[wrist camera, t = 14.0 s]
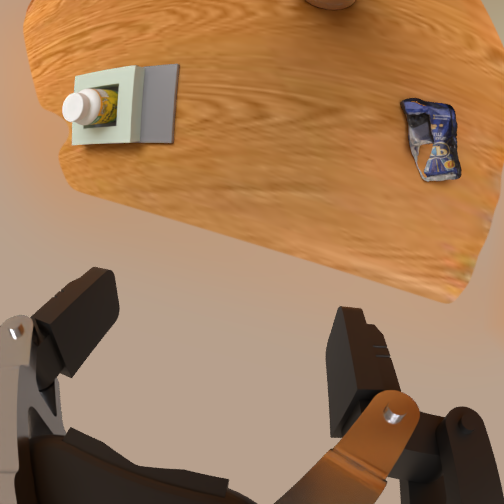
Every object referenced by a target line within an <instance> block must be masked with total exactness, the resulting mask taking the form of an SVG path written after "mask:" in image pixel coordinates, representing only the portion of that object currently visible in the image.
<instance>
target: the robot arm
mask: <svg viewBox="0 0 504 504" xmlns="http://www.w3.org/2000/svg"><path fill="white" fill-rule="evenodd" d="M306 1H307V2H308V3H310V4H312V5H314V6H317V7H319V8H323V9H330V10H337V9H343V8H346V7H348V6H350V5H352V4H353V3H354V2H355V1H356V0H306ZM118 315H119V301H118V295H117V288H116V282H115V276H114V273H113V272H112V271H111V270H108V269H103V268H98V267H93V268H91V269H90V270H89V271H87V272H86V273H85V274H84V275H83V276H81V277H80V278H78V279H76V280H74V281H72V282H70V283H69V284H67V285H66V286H65V287H64V288H63V289H62V290H61V292H60V291H59V292H58V293H57V294H56V295H55V297H53V298H51V299H50V300H49V301H48V302H47V303H46V304H45V305H44V306H42V307H41V308H40V309H39V310H38V311H37V312H36V313H35V314H34V315H32V316H31V317H30V318H29V317H28V316H24V315H18V316H14V317H11V318H9V319H7V320H6V321H5V322H4V323H3V324H2V325H1V326H0V504H257V503H256V502H254V501H252V500H251V499H249V498H248V497H246V496H244V495H242V494H240V493H238V492H236V491H233V490H231V489H229V488H228V482H229V479H224V478H219V477H214V476H209V475H205V474H200V473H195V472H191V471H187V470H180V469H163V468H152V467H143V466H138V465H135V464H133V463H132V462H130V461H129V460H127V459H126V458H124V457H123V456H122V455H120V454H118V453H117V452H116V451H114V450H113V449H111V448H110V447H109V446H107V445H106V444H105V443H103V442H101V441H99V440H97V439H95V438H92V437H90V436H88V435H86V434H84V433H82V432H80V431H78V430H75V429H73V428H71V427H70V429H69V430H68V432H67V434H66V431H65V429H64V426H63V421H62V412H61V403H60V390H59V381H58V379H57V376H58V375H59V373H61V374H64V375H66V376H68V377H70V378H72V377H73V376H74V375H75V373H76V372H77V370H78V369H79V368H80V366H81V365H82V364H83V362H84V361H85V360H86V359H87V357H88V356H89V355H90V353H91V352H92V351H93V349H94V348H95V347H96V346H97V344H98V343H99V342H100V341H101V339H102V338H103V337H104V335H105V334H106V333H107V332H108V330H109V329H110V328H111V327H112V325H113V324H114V323H115V322H116V320H117V318H118ZM326 369H327V381H328V397H329V414H330V435H331V438H333V437H334V438H342V439H341V440H340V441H339V442H338V443H337V445H336V446H335V447H334V448H333V449H330V450H329V451H328V452H327V453H326V454H325V455H324V456H323V457H322V458H321V459H320V460H319V461H318V462H317V463H316V464H315V465H314V466H313V467H312V468H311V469H310V470H309V471H308V472H307V473H306V474H305V475H304V476H303V477H302V478H301V479H300V480H299V481H298V482H297V483H296V484H295V485H294V486H293V487H292V488H291V489H290V490H289V491H287V492H286V493H285V494H284V495H283V496H282V497H281V498H280V499H279V500H277V501H276V502H275V503H274V504H374V503H375V502H376V500H377V499H378V498H379V496H380V495H381V493H382V492H383V490H384V488H385V487H386V484H387V481H386V478H387V477H391V478H396V479H400V491H401V492H400V494H401V504H504V497H503V492H502V487H501V482H500V478H499V474H498V470H497V465H496V462H495V458H494V454H493V451H492V447H491V444H490V441H489V437H488V434H487V431H486V428H485V425H484V422H483V420H482V418H481V417H480V416H479V415H478V413H477V412H475V411H474V410H472V409H470V408H468V407H456V408H454V409H452V410H451V411H450V412H449V413H448V414H447V416H446V417H441V416H436V415H431V414H427V413H423V412H420V411H419V408H418V406H417V404H416V402H415V401H414V400H413V399H412V398H411V397H410V396H408V395H407V394H405V393H403V392H401V389H400V386H399V383H398V379H397V376H396V373H395V369H394V366H393V363H392V360H391V358H390V354H389V351H388V348H387V345H386V342H385V339H384V336H383V334H382V333H381V332H380V331H379V330H378V329H377V327H376V326H375V325H372V324H367V323H366V320H365V317H364V314H363V311H362V309H360V308H352V307H342V306H340V307H339V308H338V310H337V313H336V317H335V320H334V323H333V327H332V330H331V333H330V336H329V339H328V343H327V348H326Z"/></svg>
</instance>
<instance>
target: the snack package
mask: <svg viewBox="0 0 504 504" xmlns="http://www.w3.org/2000/svg"><path fill="white" fill-rule="evenodd" d="M411 101H415V102H416V101H417V102H418V103H420V104H422V105H426V106H422V105H419V104H417V103H415V102H411ZM401 107H402V109H403V111H404V113H405V114H406V116H407V122H408V130H409V144H410V148H411V152H412V155H413V156H414V159H415V162H416V165H417V156H418V154H419V147H420V145H423V144H430V143H432V144H433V148H432V152H431V154H430V158H429V159H428V161H427V164H426V167H425V169H424V173H425V174H426V176H427V178H424V177H423V175H422V173H421V171H420V169H419V168H418V170H419V172H420V175H421V177H422V178H423V180H425V181H427V182H429V181H443V180H448V179H451V180H453V179H459V178H460V177H461V166H460V162H459V159H458V154H457V138H456V136H457V122H456V114H455V111H454V109H453V107H452V106H451V105H448V104H443V103H436V102H435V103H434V102H429V101H428V102H427V101H423V100H421V99H418V98H409V99H405V100H403V101H401ZM417 167H418V165H417Z"/></svg>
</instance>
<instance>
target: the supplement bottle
mask: <svg viewBox="0 0 504 504" xmlns="http://www.w3.org/2000/svg"><path fill="white" fill-rule="evenodd" d="M117 105H118V92H117V91H113V90H103V89H90V88H88V89H83V90H81V91H80V92H79V93H72V94H70V95H69V96H68V97H67V98H66V99H65V101H64V104H63V116H64V118H65V119H66V120H67V121H69V122H76V123H77V124H79V125H93V124H103V123H111V122H114V121H116V120H117Z"/></svg>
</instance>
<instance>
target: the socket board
mask: <svg viewBox="0 0 504 504" xmlns="http://www.w3.org/2000/svg"><path fill="white" fill-rule="evenodd" d="M179 66H180V65H179V64H170V65H158V66H148V67H139V66H136V65H134V66H127V67H120V68H114V69H108V70H103V71H98V72H93V73H88V74H83V75H79V76H75V86H74V93H79V92H80V91H81V90H83V89H88V88H90V89H103V90H113V91H117V92H118V105H117V120H116V121H114V122H111V123H103V124H93V125H79V124H77V123H76V122H72V145H86V144H106V143H174V125H175V110H176V97H177V86H178V75H179Z"/></svg>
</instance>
